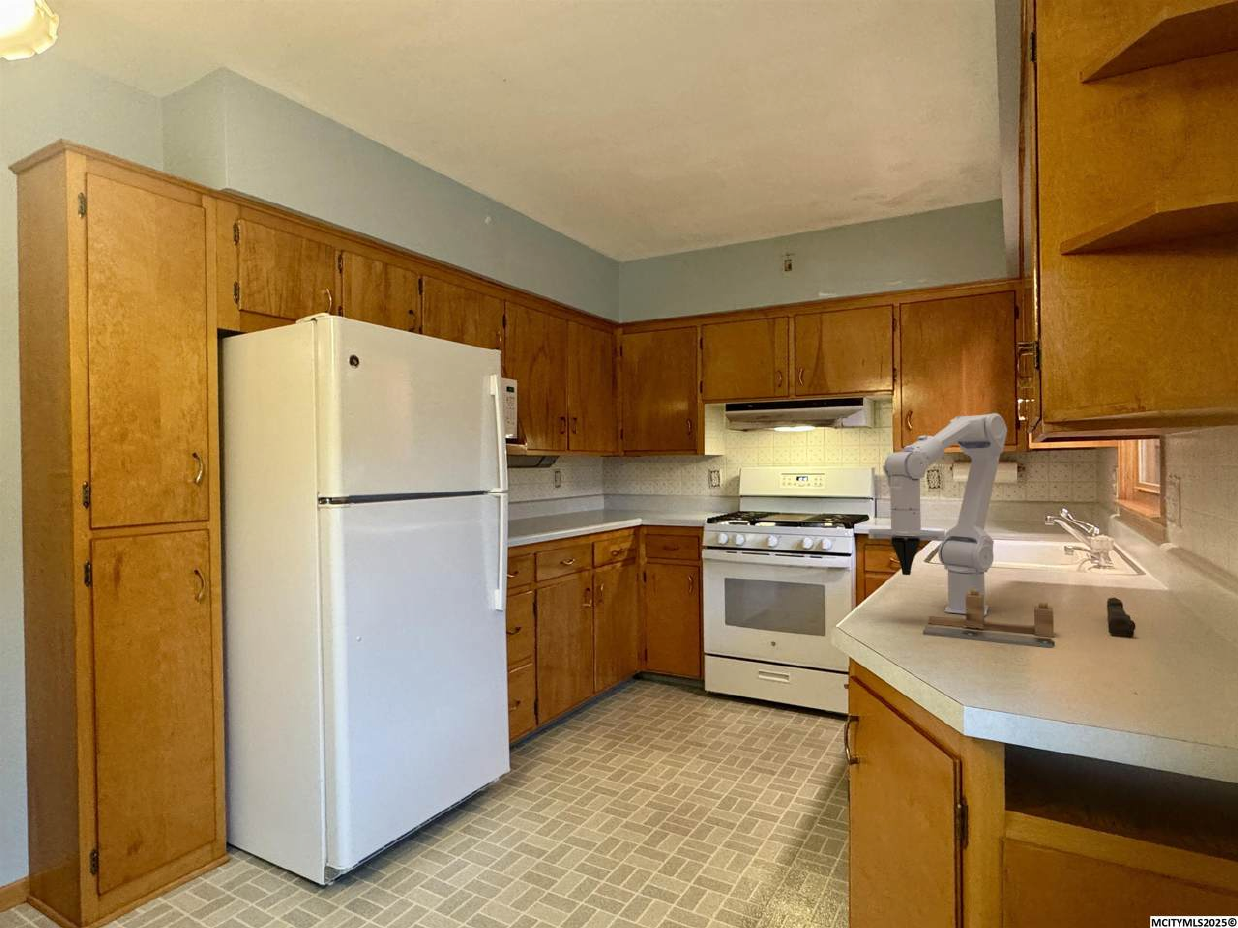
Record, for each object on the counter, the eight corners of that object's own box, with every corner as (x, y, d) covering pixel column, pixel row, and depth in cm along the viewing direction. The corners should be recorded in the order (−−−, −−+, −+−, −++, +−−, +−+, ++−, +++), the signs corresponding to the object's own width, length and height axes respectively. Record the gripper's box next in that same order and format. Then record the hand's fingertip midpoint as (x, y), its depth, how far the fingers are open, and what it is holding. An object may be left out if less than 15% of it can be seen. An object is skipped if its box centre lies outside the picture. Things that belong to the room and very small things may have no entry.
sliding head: (967, 622, 135) (966, 587, 135) (984, 624, 133) (983, 588, 133) (966, 627, 131) (965, 591, 131) (983, 628, 130) (982, 592, 130)
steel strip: (925, 628, 132) (925, 625, 132) (1054, 642, 121) (1054, 638, 121) (923, 634, 128) (923, 630, 128) (1055, 648, 117) (1055, 644, 117)
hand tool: (1135, 640, 122) (1135, 615, 122) (1108, 637, 124) (1108, 612, 124) (1129, 619, 137) (1129, 597, 137) (1105, 617, 140) (1105, 595, 140)
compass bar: (930, 620, 138) (929, 592, 138) (1052, 632, 127) (1052, 601, 127) (928, 624, 135) (927, 595, 135) (1053, 637, 124) (1053, 605, 124)
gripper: (865, 509, 138) (866, 574, 138) (941, 511, 131) (943, 579, 131) (871, 507, 144) (872, 569, 144) (945, 508, 137) (946, 574, 137)
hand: (906, 574), depth 138 cm, fingers closed
